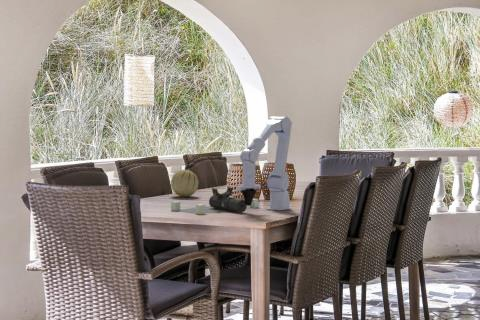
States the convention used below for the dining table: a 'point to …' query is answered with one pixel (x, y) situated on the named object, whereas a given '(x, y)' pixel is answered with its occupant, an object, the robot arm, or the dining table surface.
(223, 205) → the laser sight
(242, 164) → the robot arm
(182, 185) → the cantaloupe
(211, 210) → the bay
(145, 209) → the dining table surface
